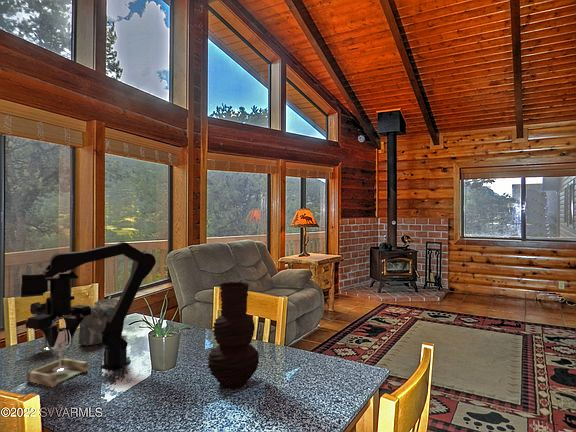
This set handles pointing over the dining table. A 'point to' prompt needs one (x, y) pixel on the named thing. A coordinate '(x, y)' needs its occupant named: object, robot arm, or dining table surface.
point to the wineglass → (61, 345)
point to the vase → (233, 339)
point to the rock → (95, 321)
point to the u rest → (56, 372)
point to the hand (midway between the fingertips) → (60, 344)
